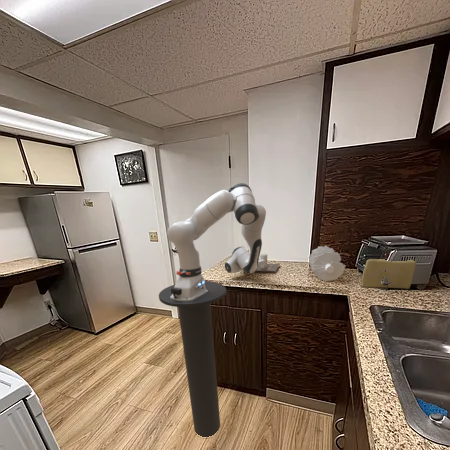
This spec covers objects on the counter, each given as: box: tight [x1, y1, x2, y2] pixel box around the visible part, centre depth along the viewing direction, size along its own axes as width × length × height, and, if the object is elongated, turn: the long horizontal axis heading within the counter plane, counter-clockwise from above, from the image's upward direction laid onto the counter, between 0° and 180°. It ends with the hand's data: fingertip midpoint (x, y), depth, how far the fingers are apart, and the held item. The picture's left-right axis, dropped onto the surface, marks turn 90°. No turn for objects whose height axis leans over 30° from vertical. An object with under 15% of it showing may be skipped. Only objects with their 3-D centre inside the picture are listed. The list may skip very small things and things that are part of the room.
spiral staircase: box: [308, 245, 346, 282], centre depth 151 cm, size 18×18×25 cm
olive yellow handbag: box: [360, 258, 417, 290], centre depth 130 cm, size 22×10×15 cm, turn 81°
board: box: [254, 263, 281, 274], centre depth 179 cm, size 20×20×2 cm
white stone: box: [259, 253, 268, 268], centre depth 177 cm, size 5×5×9 cm
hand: (258, 259), depth 173 cm, fingers open, 8 cm apart
